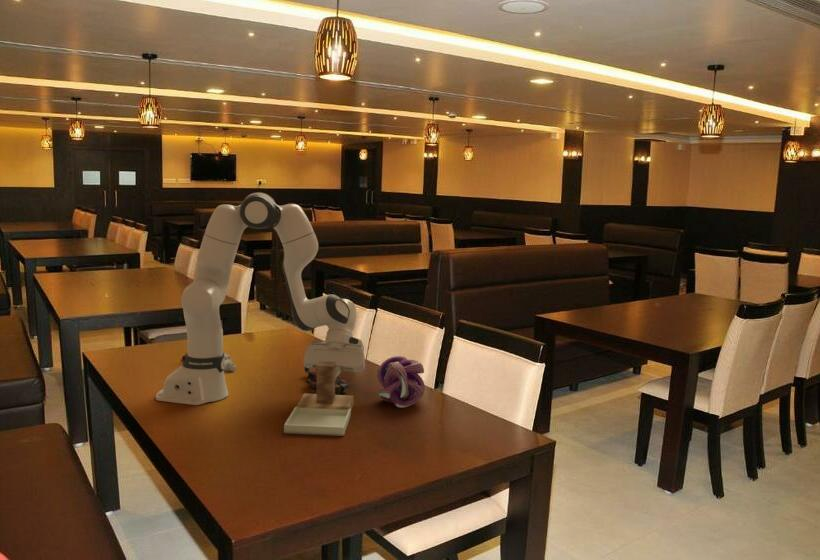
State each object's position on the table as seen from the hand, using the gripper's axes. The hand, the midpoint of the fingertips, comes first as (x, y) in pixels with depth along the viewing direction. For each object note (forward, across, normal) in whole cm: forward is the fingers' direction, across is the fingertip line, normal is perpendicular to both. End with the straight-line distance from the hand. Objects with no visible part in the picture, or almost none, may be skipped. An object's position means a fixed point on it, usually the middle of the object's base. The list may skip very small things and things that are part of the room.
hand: (330, 380), depth 200 cm
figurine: (-5, -6, +17) cm, 19 cm away
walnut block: (+7, 0, -1) cm, 7 cm away
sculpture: (0, +22, +11) cm, 25 cm away
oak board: (+9, 0, +2) cm, 9 cm away
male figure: (-17, -54, +29) cm, 63 cm away
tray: (+18, +1, -7) cm, 19 cm away
